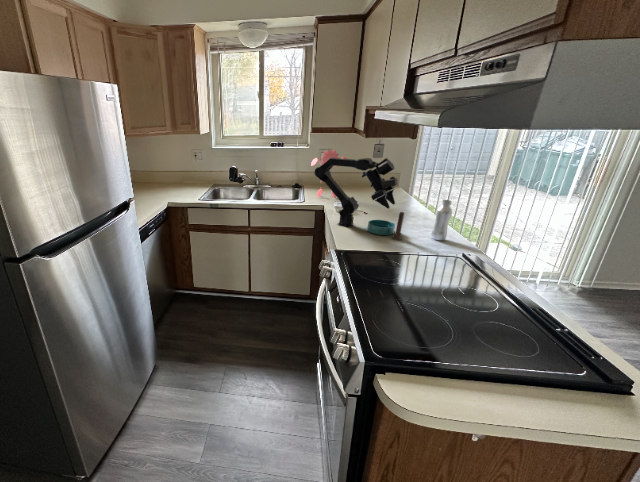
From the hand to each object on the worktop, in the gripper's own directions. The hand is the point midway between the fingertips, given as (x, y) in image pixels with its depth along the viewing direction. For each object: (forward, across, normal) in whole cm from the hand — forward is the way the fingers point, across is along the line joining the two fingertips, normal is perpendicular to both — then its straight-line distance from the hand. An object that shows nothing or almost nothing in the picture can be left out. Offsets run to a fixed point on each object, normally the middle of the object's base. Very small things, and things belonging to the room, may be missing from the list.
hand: (391, 206), depth 163 cm
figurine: (-23, +45, +53) cm, 73 cm away
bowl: (+9, +1, +12) cm, 15 cm away
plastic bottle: (+26, +7, -8) cm, 28 cm away
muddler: (+16, -5, +4) cm, 17 cm away
